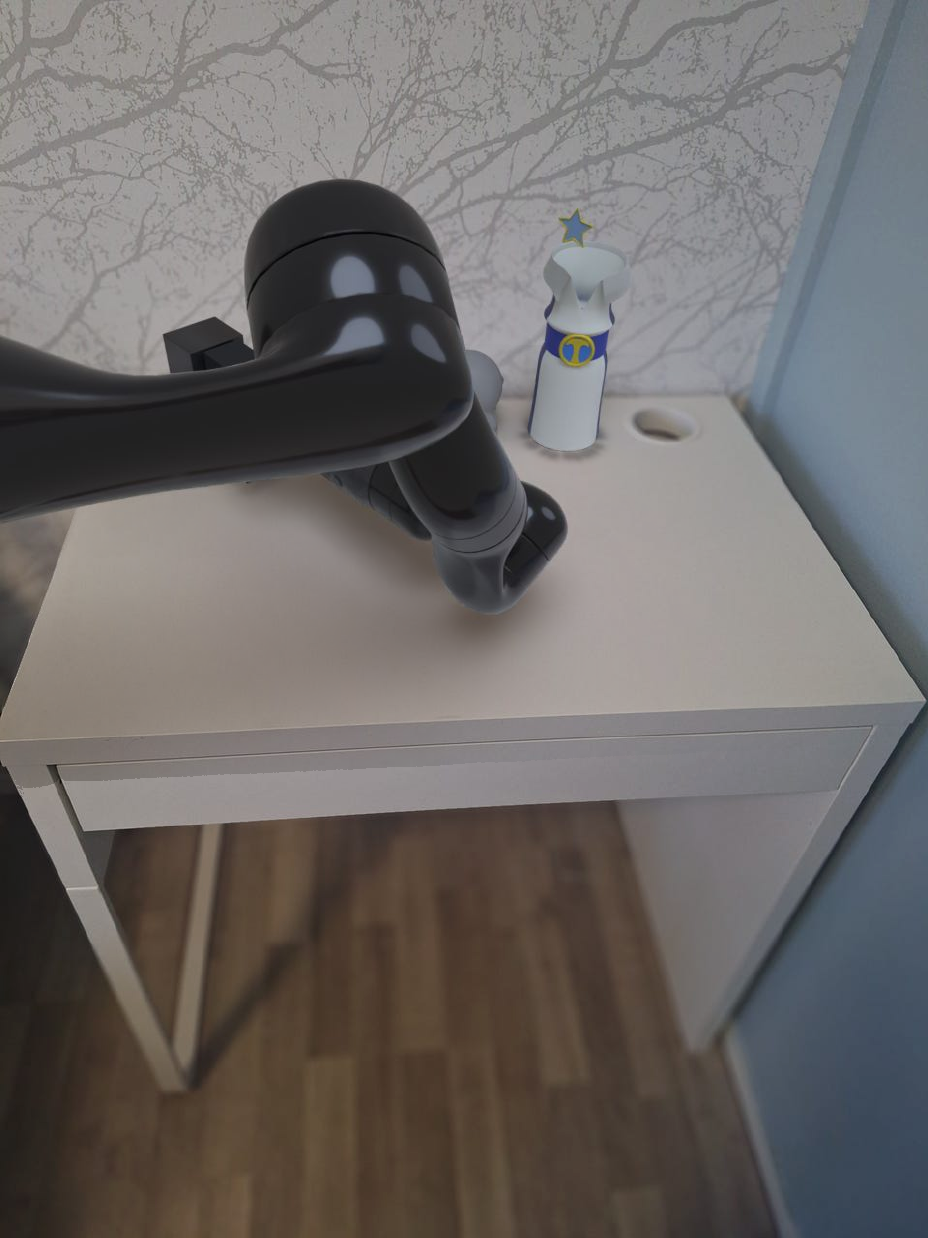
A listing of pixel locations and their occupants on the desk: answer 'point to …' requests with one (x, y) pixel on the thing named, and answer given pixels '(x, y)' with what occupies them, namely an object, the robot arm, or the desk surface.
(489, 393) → the round bodied animal figurine
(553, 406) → the white piece
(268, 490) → the desk surface
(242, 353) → the black rectangular block
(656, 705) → the desk surface
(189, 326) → the black brown block stand
